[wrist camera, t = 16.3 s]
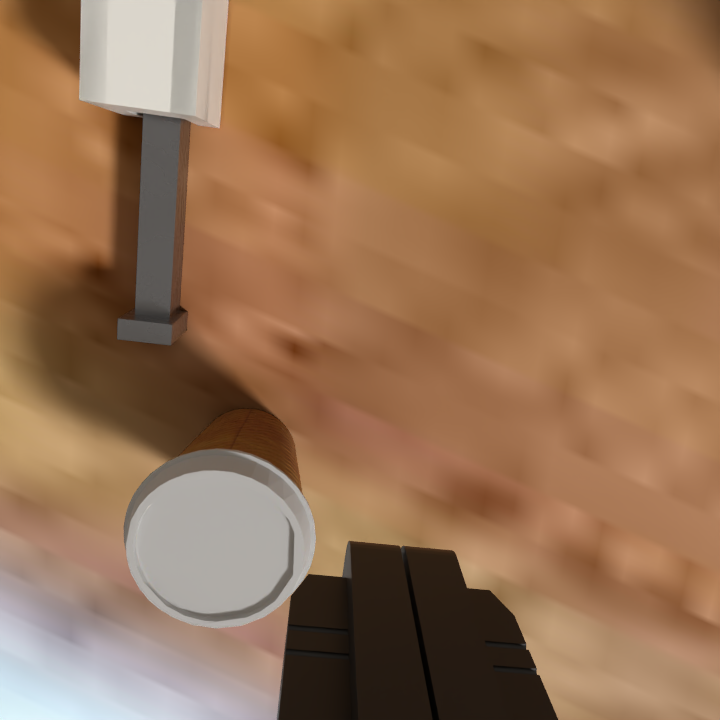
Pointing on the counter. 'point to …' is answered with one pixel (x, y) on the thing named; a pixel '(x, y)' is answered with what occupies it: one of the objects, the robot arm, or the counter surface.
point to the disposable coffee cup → (223, 524)
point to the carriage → (154, 57)
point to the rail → (160, 233)
